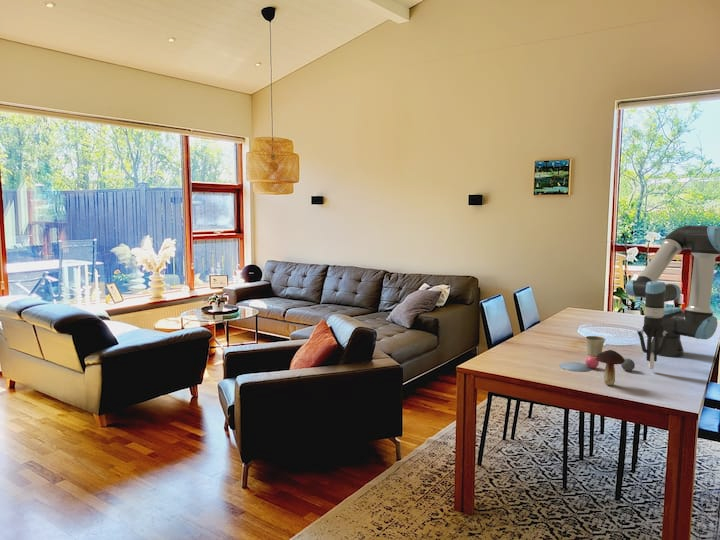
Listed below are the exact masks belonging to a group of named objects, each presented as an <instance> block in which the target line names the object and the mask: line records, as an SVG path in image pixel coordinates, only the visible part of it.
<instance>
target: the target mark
mask: <svg viewBox="0 0 720 540" xmlns="http://www.w3.org/2000/svg"><path fill="white" fill-rule="evenodd" d="M559 367H560V368H561V369H563V370H565V371H570V372H577V371H578V372H580V373H582V372H584V373H585V372H589V371H592V370H593V368H589V367H588V366H587V365H586V363H581V362H575V361H574V362H572V361H571V362H570V361H567V362H566V361H565V362H562V363H560V364H559Z"/></svg>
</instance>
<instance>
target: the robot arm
mask: <svg viewBox="0 0 720 540" xmlns="http://www.w3.org/2000/svg"><path fill="white" fill-rule="evenodd" d="M683 250H690V254H691V255H692V256H693V263H692V272H691V273H692V275H691V282H690V289H689V290H690V291H689V300H688V306H687V307H685V308H684V311H683V308H681V307H672V306H671V307H670V306H669V307H665V302H666V303H667V302H672V301H676V300H677V299H679V297H681V294H682V290H681V288H680V286H678V285H677V284H676V283H667V284H666V283H665V282H664V281H658V280H659V278H661V276H662V274H663V273H664V272H665V270H666V268H668V267H669V265H670V264H671V262H672V261H673V259H674V258H675V257H676V255H678V254H680V253H681V252H682V251H683ZM719 256H720V226H718V225H687V224H686V225H681V226H679V227H677V228H675V229H673V230H672V231H671V232H669V233H667V235H665V237H664V238H663V239H662V241H661V242H660V247H659V249H657V251H656V253H655V254H654V255H653V256H652V258H651V259H650V261H649V262H648V263H647V265H646V266H645V267H644V269H643V271H642V272H641V273H640V274H639V275H638V277H637V278H636V280H628V281H627V282H626V284H625V289H624V290H625V292H626V294H627V295H628V296H631V297H635V298H644V299H645V301H644V317H643V326H642V328H641V329H639V330H636V333H637V334H638V336H639V341H640V346H641V351H642V352H643V353H645V354H646V361H648V367H647V368H648V369H649V370H654V366H655V362H657V360H658V359H657V357H658V356H664V357H676V358H677V357H681V356H684V350H685V349H684V346H683V344H682V341H681V336H684V337H689V338H693V339H697V340H709V339H711V338H712V337H713V336H714V334H715V333H716V331H717V327H718V318H717V317H716V316H715V315H714V311H713V310H712V309H711V301H712V300H711V299H712V292H713V282H714V273H715V265H716V258H718V257H719ZM644 333H645V335H646V338H647V339H646V343H645V339H644Z"/></svg>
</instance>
